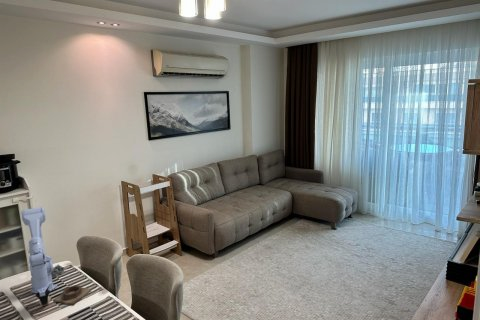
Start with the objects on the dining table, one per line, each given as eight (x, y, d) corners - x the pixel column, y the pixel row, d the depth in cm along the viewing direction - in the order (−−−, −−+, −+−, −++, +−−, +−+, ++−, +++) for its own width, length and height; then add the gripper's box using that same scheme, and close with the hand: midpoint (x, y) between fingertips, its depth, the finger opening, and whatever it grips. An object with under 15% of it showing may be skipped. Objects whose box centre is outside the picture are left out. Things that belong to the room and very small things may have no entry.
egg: (37, 306, 154) (36, 298, 153) (45, 301, 158) (44, 292, 158) (45, 308, 153) (43, 299, 152) (53, 302, 157) (51, 294, 156)
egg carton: (47, 282, 175) (45, 275, 175) (40, 278, 180) (39, 271, 179) (66, 273, 184) (65, 266, 183) (59, 269, 188) (58, 263, 187)
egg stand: (53, 301, 158) (52, 295, 157) (72, 287, 169) (71, 281, 168) (73, 305, 154) (72, 299, 154) (91, 291, 166) (90, 284, 165)
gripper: (50, 281, 149) (54, 306, 151) (50, 267, 161) (54, 291, 163) (32, 285, 145) (37, 312, 148) (33, 271, 157) (37, 296, 160)
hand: (45, 301), depth 155 cm, fingers closed on egg, 5 cm apart
